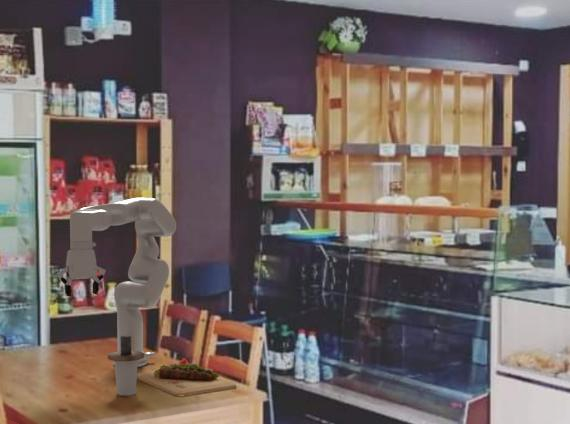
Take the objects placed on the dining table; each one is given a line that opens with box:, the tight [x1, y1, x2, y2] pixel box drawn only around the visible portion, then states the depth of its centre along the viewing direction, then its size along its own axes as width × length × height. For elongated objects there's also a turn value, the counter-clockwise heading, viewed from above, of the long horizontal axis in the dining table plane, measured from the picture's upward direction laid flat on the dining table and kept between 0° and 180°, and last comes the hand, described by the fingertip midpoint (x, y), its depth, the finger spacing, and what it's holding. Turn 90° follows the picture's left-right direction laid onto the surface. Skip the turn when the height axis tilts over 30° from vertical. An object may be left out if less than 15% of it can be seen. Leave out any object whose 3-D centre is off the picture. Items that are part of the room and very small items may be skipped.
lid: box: [107, 336, 144, 362], centre depth 306 cm, size 12×12×7 cm
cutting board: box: [137, 357, 237, 396], centre depth 322 cm, size 35×23×8 cm
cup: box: [113, 360, 139, 396], centre depth 306 cm, size 8×8×12 cm
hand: (82, 294), depth 323 cm, fingers open, 9 cm apart
